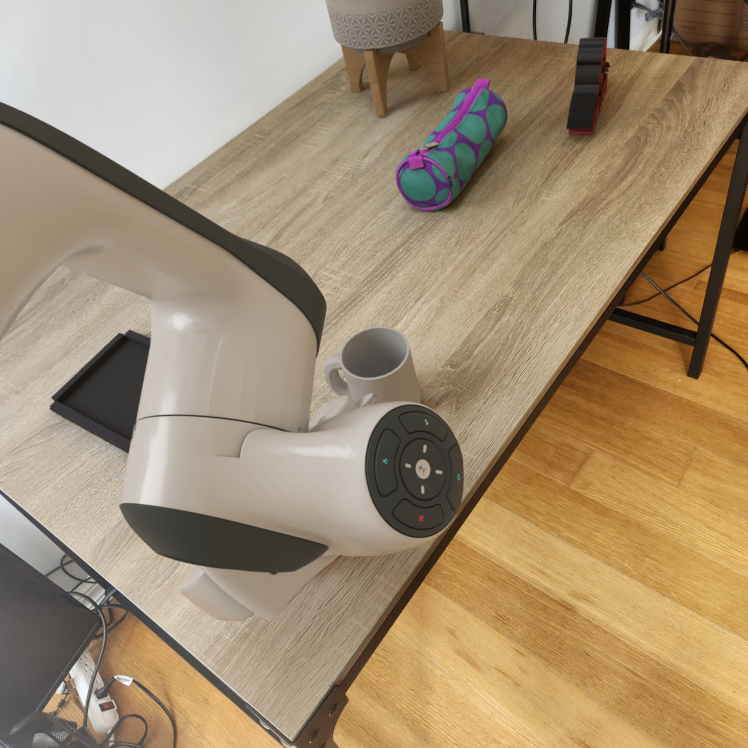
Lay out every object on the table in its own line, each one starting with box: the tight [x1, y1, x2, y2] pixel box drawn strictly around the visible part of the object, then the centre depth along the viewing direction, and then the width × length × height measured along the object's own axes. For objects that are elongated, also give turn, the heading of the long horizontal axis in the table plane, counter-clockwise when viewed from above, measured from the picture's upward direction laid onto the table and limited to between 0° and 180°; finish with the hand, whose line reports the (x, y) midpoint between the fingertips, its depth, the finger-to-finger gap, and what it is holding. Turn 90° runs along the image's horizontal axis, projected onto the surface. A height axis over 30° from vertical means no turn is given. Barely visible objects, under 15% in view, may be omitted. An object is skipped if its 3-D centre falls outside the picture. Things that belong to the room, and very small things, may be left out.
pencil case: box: [395, 78, 508, 212], centre depth 94 cm, size 21×9×10 cm, turn 151°
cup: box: [323, 325, 422, 404], centre depth 69 cm, size 7×10×9 cm
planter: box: [325, 0, 450, 118], centre depth 108 cm, size 19×19×26 cm
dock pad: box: [49, 329, 151, 454], centre depth 80 cm, size 18×14×2 cm
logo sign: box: [566, 36, 611, 135], centre depth 97 cm, size 18×4×11 cm, turn 159°
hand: (255, 504), depth 59 cm, fingers closed on ink box, 5 cm apart
